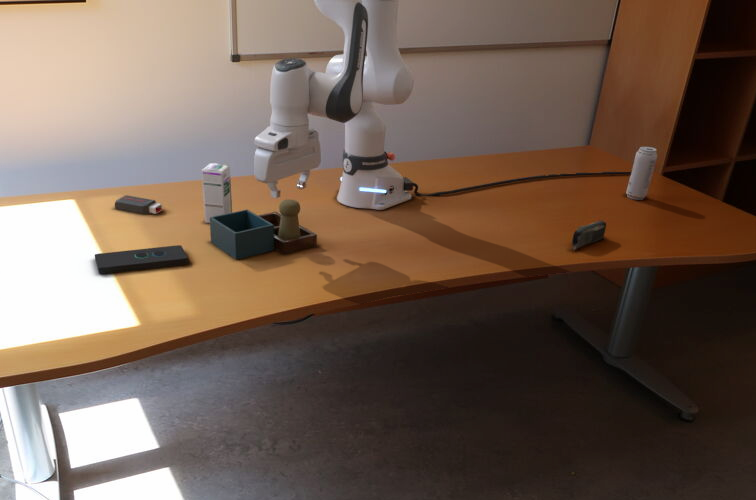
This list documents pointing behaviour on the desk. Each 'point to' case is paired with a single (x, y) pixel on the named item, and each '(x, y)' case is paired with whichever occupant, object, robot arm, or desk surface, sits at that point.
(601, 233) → the mobile phone
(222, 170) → the syrup box
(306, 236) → the holder
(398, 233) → the desk surface
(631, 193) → the energy drink can
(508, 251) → the desk surface
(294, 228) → the olive pepper mill
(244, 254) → the bin
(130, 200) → the usb drive
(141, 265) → the smart home device
